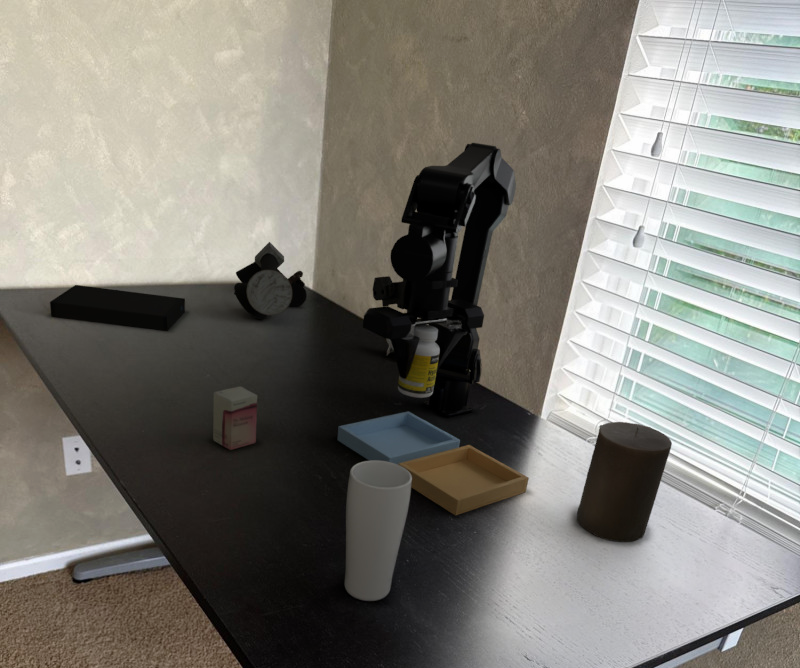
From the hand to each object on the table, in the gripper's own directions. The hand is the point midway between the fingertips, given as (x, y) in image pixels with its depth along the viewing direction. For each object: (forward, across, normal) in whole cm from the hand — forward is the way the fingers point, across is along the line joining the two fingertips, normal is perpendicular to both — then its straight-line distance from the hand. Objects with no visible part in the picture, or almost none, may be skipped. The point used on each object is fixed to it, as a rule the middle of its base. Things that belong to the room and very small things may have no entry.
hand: (417, 375), depth 121 cm
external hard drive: (+13, +12, -79) cm, 81 cm away
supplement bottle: (+3, 0, 0) cm, 3 cm away
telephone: (+13, -21, -74) cm, 78 cm away
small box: (+13, +22, -15) cm, 29 cm away
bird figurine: (+13, -30, -34) cm, 47 cm away
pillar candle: (+13, -12, +31) cm, 35 cm away
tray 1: (+13, 0, -2) cm, 13 cm away
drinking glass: (+13, +29, +26) cm, 41 cm away
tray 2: (+13, 0, +12) cm, 18 cm away
